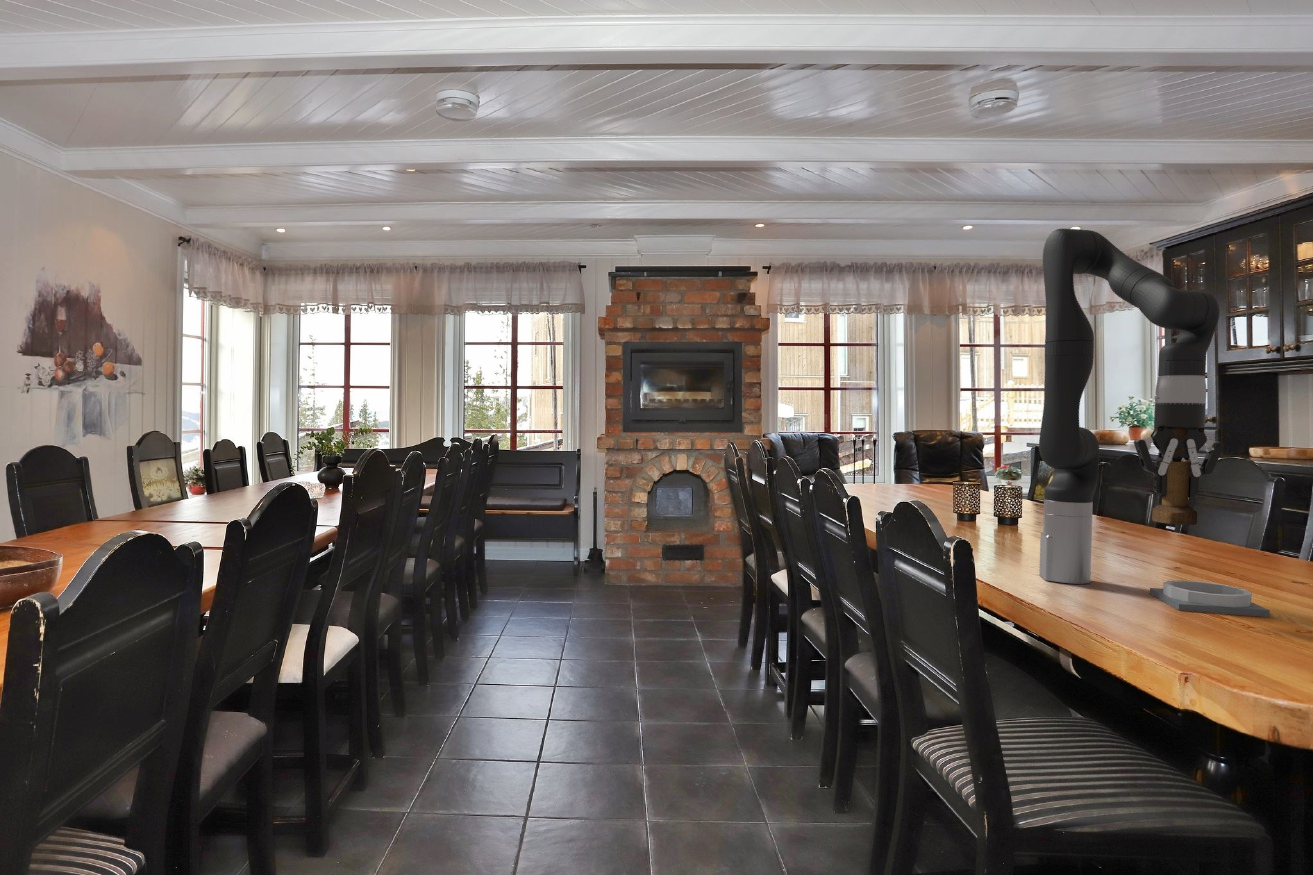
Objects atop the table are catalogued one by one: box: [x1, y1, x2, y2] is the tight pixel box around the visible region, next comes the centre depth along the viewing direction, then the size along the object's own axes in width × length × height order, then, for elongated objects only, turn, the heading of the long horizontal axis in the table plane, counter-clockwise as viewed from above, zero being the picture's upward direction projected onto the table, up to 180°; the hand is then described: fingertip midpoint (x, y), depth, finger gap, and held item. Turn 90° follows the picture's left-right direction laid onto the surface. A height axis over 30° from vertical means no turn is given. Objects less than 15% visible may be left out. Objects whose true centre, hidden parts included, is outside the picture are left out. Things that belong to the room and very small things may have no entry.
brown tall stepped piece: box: [1151, 428, 1198, 526], centre depth 134 cm, size 7×6×18 cm
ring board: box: [1149, 579, 1271, 618], centre depth 140 cm, size 14×14×3 cm
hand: (1175, 496), depth 134 cm, fingers closed on brown tall stepped piece, 4 cm apart
